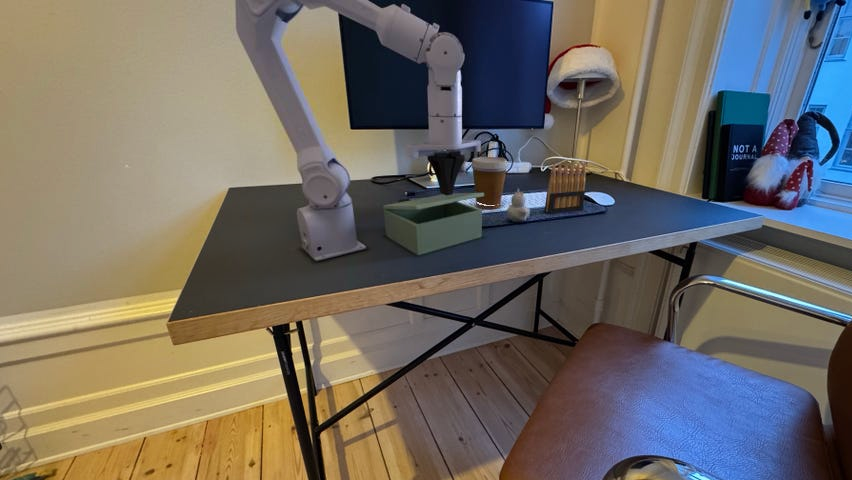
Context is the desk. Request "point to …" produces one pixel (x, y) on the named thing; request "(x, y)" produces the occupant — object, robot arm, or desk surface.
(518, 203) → the grey gourd
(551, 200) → the ammunition clip
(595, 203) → the desk surface
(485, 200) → the disposable coffee cup
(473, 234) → the box
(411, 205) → the box lid
